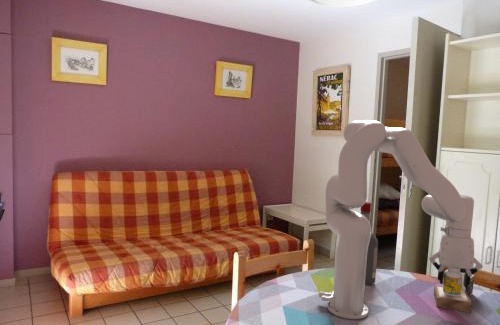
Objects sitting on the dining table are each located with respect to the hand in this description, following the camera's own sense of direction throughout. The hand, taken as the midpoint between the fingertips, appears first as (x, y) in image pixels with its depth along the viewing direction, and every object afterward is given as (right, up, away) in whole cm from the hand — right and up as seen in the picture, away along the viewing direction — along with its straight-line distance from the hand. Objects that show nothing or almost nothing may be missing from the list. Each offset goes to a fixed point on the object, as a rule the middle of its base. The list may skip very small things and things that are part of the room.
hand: (453, 283), depth 130 cm
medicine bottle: (+6, -6, +9) cm, 13 cm away
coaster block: (0, -7, +1) cm, 7 cm away
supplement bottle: (0, -4, 0) cm, 4 cm away
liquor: (-26, -4, +17) cm, 31 cm away
